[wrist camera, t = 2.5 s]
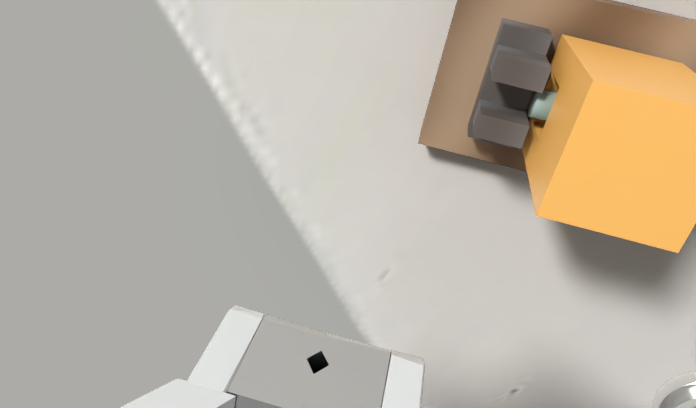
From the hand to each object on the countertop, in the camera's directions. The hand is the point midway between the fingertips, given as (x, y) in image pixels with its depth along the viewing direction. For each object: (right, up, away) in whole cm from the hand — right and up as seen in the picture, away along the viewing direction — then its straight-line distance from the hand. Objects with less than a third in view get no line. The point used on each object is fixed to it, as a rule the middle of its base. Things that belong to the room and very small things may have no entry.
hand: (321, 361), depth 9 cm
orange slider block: (+11, +7, +16) cm, 21 cm away
